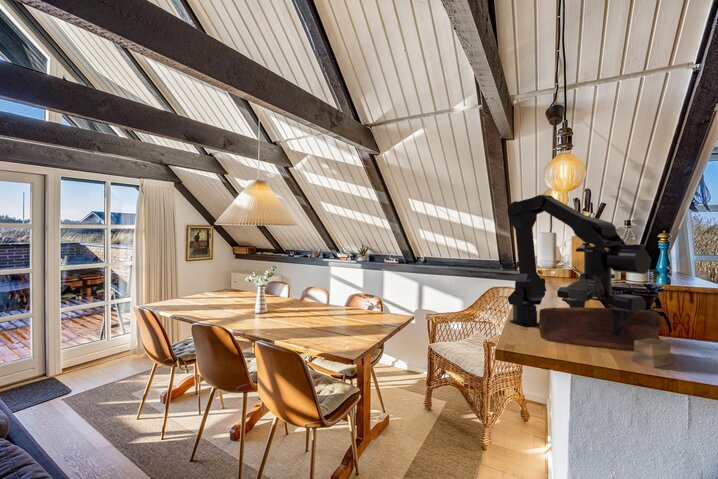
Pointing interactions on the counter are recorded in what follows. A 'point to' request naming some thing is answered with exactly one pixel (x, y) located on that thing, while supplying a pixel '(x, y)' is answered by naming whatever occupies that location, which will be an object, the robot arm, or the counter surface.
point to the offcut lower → (652, 359)
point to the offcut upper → (652, 347)
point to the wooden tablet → (596, 327)
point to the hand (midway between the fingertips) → (597, 330)
